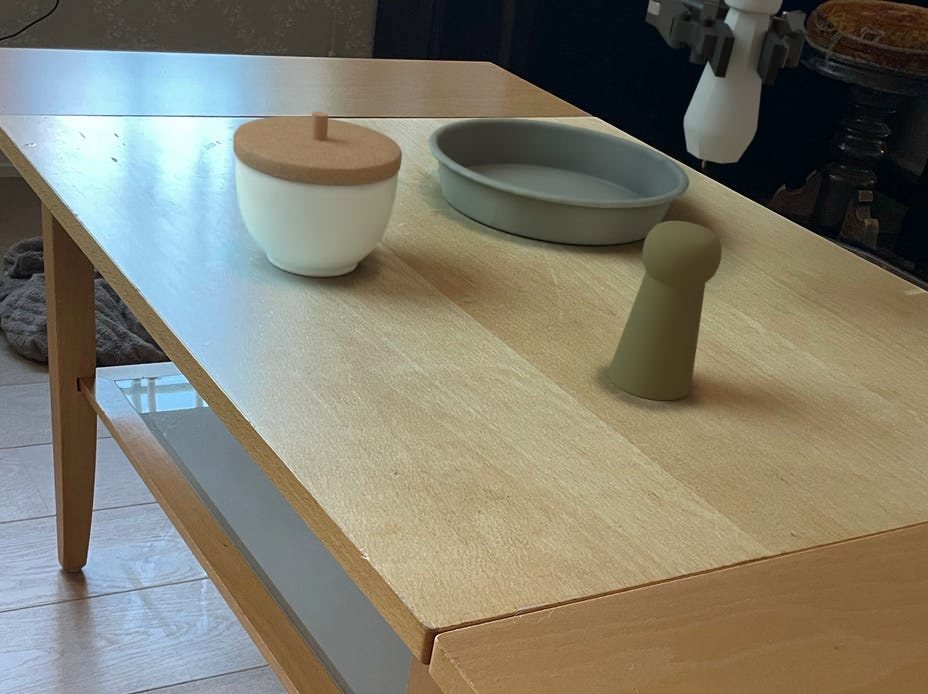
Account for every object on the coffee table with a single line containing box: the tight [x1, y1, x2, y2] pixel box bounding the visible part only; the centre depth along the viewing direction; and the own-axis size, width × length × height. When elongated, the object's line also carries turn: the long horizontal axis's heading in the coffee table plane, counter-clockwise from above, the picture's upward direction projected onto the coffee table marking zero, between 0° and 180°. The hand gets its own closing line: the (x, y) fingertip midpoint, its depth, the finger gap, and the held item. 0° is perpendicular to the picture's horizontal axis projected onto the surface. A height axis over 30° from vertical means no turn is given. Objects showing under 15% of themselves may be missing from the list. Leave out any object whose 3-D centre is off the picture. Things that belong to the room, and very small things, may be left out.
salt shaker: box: [683, 0, 783, 164], centre depth 90 cm, size 6×6×13 cm
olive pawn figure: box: [607, 220, 722, 401], centre depth 79 cm, size 6×6×11 cm
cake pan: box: [427, 117, 690, 246], centre depth 109 cm, size 25×25×4 cm
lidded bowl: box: [232, 111, 403, 278], centre depth 89 cm, size 13×13×11 cm
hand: (749, 61), depth 85 cm, fingers closed on salt shaker, 3 cm apart
